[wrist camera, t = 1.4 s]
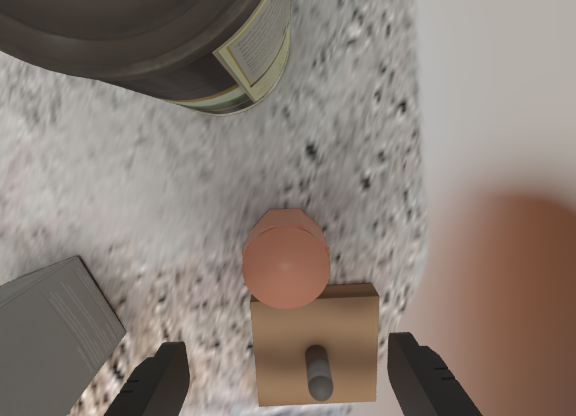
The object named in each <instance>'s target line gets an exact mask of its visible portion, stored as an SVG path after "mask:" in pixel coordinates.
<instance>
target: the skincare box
mask: <svg viewBox="0 0 576 416" xmlns="http://www.w3.org/2000/svg"><path fill="white" fill-rule="evenodd" d="M125 334H126V331H125V330H124V328H123V327H122V325H121V324H120V322H119V321H118V319H117V317H116V316H115V314H114V313H113V311H112V310H111V308H110V306H109V305H108V303H107V302H106V300H105V299H104V297H103V296H102V294H101V292H100V291H99V289H98V288H97V286H96V285H95V283H94V281H93V280H92V278H91V277H90V275H89V274H88V272H87V270H86V269H85V267H84V266H83V264H82V263H81V261H80V259H79V258H78V257H72V258H70V259H67V260H65V261H62V262H59V263H57V264H54V265H52V266H49V267H46V268H44V269H41V270H39V271H36V272H33V273H31V274H28V275H25V276H23V277H20V278H18V279H15V280H12V281H10V282H7V283H5V284H4V285H2V286H0V416H66V415H67V414H68V412H69V411H70V410H71V408H72V407H73V406H74V404H75V403H76V402H77V400H78V399H79V397H80V396H81V395H82V393H83V392H84V391H85V389H86V388H87V386H88V385H89V384H90V382H91V381H92V380H93V378H94V377H95V375H96V374H97V373H98V371H99V370H100V368H101V367H102V366H103V365H104V363H105V362H106V360H107V359H108V358H109V356H110V355H111V353H112V352H113V351H114V349H115V348H116V346H117V345H118V344H119V342H120V341H121V339H122V338H123V337H124V335H125Z"/></svg>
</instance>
